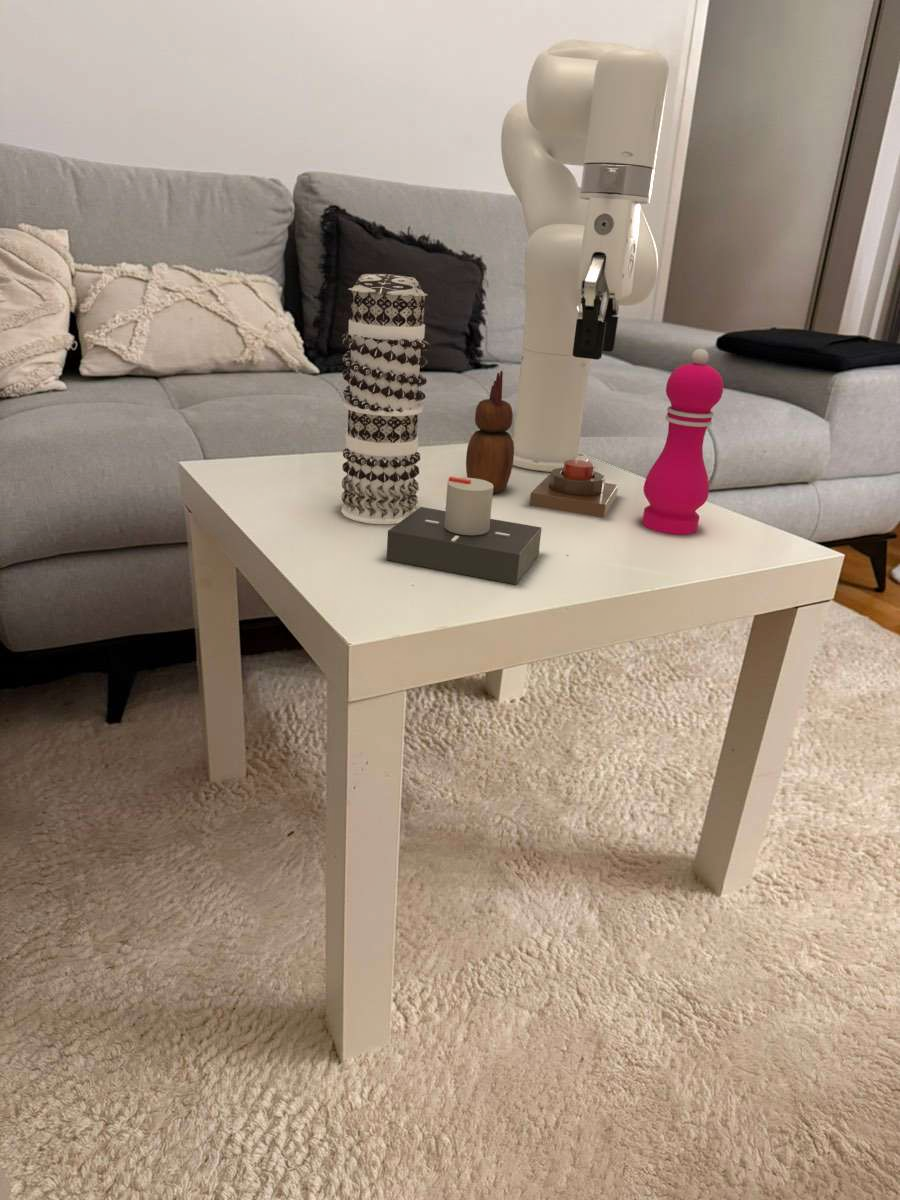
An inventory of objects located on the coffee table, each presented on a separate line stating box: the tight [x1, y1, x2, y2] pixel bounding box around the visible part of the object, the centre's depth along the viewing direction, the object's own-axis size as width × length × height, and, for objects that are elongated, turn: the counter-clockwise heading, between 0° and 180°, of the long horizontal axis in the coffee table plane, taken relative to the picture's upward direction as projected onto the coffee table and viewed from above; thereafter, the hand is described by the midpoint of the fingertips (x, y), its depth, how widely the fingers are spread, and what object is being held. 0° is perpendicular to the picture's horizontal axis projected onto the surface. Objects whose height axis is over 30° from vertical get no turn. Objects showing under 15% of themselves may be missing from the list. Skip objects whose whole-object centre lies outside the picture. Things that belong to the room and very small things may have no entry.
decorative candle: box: [340, 273, 431, 525], centre depth 91 cm, size 9×9×25 cm
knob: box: [444, 476, 494, 536], centre depth 82 cm, size 4×4×5 cm
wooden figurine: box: [465, 370, 514, 494], centre depth 105 cm, size 7×6×15 cm
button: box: [563, 460, 595, 479], centre depth 104 cm, size 4×4×2 cm
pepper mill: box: [641, 348, 724, 536], centre depth 95 cm, size 7×7×20 cm
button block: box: [529, 467, 619, 519], centre depth 105 cm, size 10×9×4 cm
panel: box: [386, 506, 542, 585], centre depth 84 cm, size 9×13×3 cm
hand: (593, 353), depth 98 cm, fingers open, 8 cm apart
